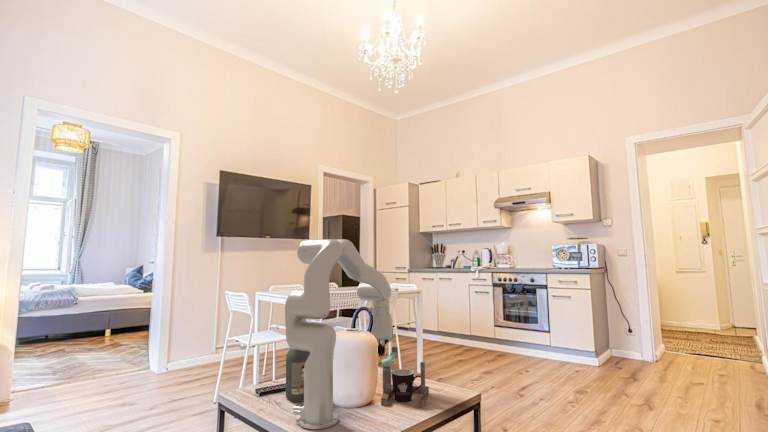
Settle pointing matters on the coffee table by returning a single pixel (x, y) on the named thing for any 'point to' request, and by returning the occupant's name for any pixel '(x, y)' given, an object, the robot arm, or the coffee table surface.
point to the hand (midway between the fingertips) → (381, 355)
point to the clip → (390, 357)
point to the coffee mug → (403, 384)
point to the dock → (422, 390)
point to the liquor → (295, 374)
